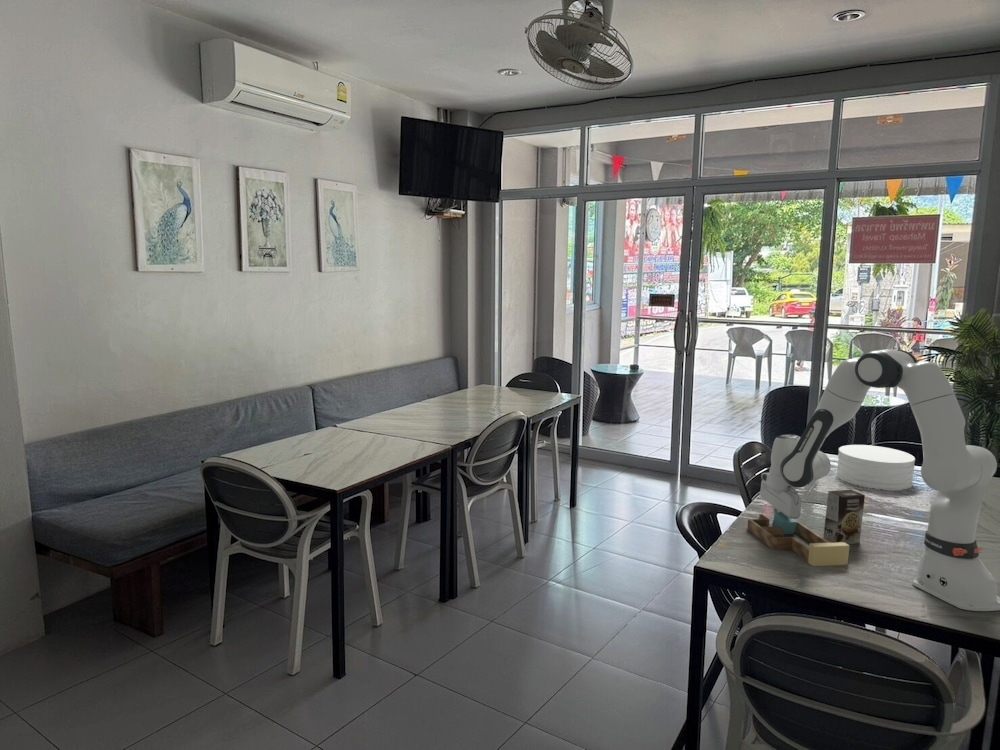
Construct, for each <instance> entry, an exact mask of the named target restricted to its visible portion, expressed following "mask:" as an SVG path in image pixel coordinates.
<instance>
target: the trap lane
mask: <svg viewBox="0 0 1000 750" xmlns="http://www.w3.org/2000/svg"><path fill="white" fill-rule="evenodd" d="M795 520H796V521H797V525H796V528H795V531H794V533H796V534H798V535H799V536H800V537H802V538H803V539H805V540H806V541H808V542H809V543H831V542H830V541H828V540H826V539H824V538H823V536H822V535H819V534H818V533H816V532H815V531H814V530H812V529H811V528H809V527H808V526H806V525H805V524H803V523H802V522H801V521H799V520H797V519H795ZM746 529H747V530H748V531H749V532H750V533H752V534H753V535H754V536H755V537H757V538H758V539H759V540H760V541H762V542H763V543H764V544H765V545H767V546H768V547H769V548H771V550H792V551H793V552H795V553H796V554H797V555H798V556H800V557H802V559H804V560H806V561H807V562H808V557H809V546H807V545H806V544H804V543H803V542H802V541H800V540H799V539H797V538H796V537H794V536H784V534H783V531H784V530H783V529H782V528H781V527H779V526H773V525H772V526H771V525H770V519H769V518H768V517H766V515H764V514H762V513H760V514H759V515H758V518H748V519H747V527H746Z"/></svg>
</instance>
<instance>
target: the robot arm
mask: <svg viewBox="0 0 1000 750" xmlns="http://www.w3.org/2000/svg"><path fill="white" fill-rule="evenodd" d="M897 387H898V388H899V389H901V390H902V391H903V392H904V394H905V396H906V398H907V401H908V403H909V406H910V409H911V411H912V415H913V416H914V419H915V421H916V424H917V427H918V430H919V434H920V439H921V444H922V454H923V455H922V456H923V460H922V465H921V467H920V474H921V478H922V480H923V482H924V483H925V484H926V485H927V486H928V487H929V488H931V489H932V490H935V491H937V494H936V495H935V497H934V499H933V500H932V502H931V504H930V508H929V509H930V510H929V516H928V524H927V529H926V530H925V532H924V533H925V535H924V536H923V537H924V538H923V539H924V540H923V543H924V545H925V546H924V549H923V552H922V553H921V557H920V559H919V563H918V566H917V571H916V574H915V576H914V579H913V581H912V586H914V587H916V588H918V589H920V590H922V591H924V592H926V593H927V594H930V595H933V596H934V597H936V598H938V599H940V600H942V601H944V602H946V603H948V604H950V605H952V606H954V607H956V608H958V609H961V610H965V611H972V612H994V611H1000V596H998V586H997V581H996V579H995V578H994V575H993V574H992V573H991V572H990V571H989V570H988V569H987V567H986V565H985V564H984V563H983V562H982V560H981V559H980V557H979V556H980V554H981V553H983V552H982V551H983V549H984V548H978V544H977V540H976V534H977V533H976V532H977V528H978V520H979V515H980V510H981V508H982V505H983V502H984V499H985V497H986V494H987V491H988V488H989V485H990V482H991V479H992V478H993V476H994V474H995V473H996V472H997V468H998V462H997V459H996V456H995V455H994V454H993V453H992V451H990V450H989V449H987V448H985V447H982V446H977V445H971V444H969V445H968V444H966V438H965V426H966V418H965V416H964V413H963V411H962V409H961V406H960V404H959V402H958V398H957V396H956V394H955V392H954V389H953V387H952V385H951V383H950V381H949V379H948V377H947V376H946V375H945V373H944V371H943V370H942V368H941V367H940V366H939V365H938V363H935V362H933V361H926V360H923V361H922V360H921V361H918V359H917V357H915V356H914V354H912V353H910V352H909V351H906V350H902V349H887V348H886V349H879V350H878V349H877V350H871V351H868V352H865V353H864V354H863V355H861V356H860V357H858V359H856V358H846V359H844V360H842V361H841V362H840V363H839V365H838V366H837V367H836V368H835V370H834V371H833V373H832V375H831V376H830V378H829V381H828V382H827V384H826V387H825V389H824V391H823V393H822V396H821V398H820V400H819V401H818V404H817V406H816V408H815V410H814V412H813V414H812V416H811V418H810V420H809V421H808V423H807V425H806V426H805V429H804V430H803V432H802V434H801V435H796V434H781V435H778V436H776V437H775V439H774V441H773V444H772V448H771V454H770V462H771V465H770V468H769V472H762V473H761V476H760V477H761V482H760V483H761V484H760V493H759V494H760V498H761V499H763V500H764V501H765V502H766V503H768V504H769V505H771V507H772V513H773V518H774V517H775V514H776V513H780V512H781V513H783V514H784V515H785V516H787V517H788V518H790V519H796V520H797V519H799V518H800V517H801V515H802V513H801V511H802V500H801V496H800V495H799V493H798V491H797V490H796V489H797V488H799V489H800V488H804V487H806V486H807V485H809V484H811V483H813V482H815V481H818V480H820V479H823V478H824V477H826V476H827V475H828V474H829V473H830V471H831V466H832V465H831V461H830V459H829V456H827V454H826V453H825V452H823V451H822V450H821V448H822V446H823V444H824V442H825V440H826V438H828V437H829V436H830V434H831V433H832V432H834V431H835V430H836V429H838V428H839V427H841V426H843V425H844V424H846V423H848V422H849V421H851V420H852V419H853V418H854V417H855V415H856V414H857V413H858V411H859V410H860V408H861V406H862V405H863V402H864V400H865V398H866V396H867V393H868V392H869V390H870V389H871V388H876V389H882V388H883V389H885V388H892V389H893V388H897Z"/></svg>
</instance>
